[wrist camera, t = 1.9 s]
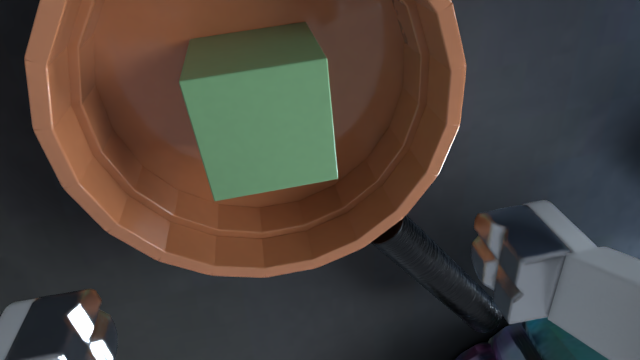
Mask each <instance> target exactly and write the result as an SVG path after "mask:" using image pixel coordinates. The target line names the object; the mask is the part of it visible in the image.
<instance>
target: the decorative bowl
mask: <svg viewBox="0 0 640 360" xmlns="http://www.w3.org/2000/svg"><path fill="white" fill-rule="evenodd" d="M455 360H609V359H607V358H606V357H604V356H603V355H601V354H600V353H598V352H597V351H595V350H594V349H592V348H591V347H589V346H587V345H586V344H584V343H583V342H581V341H580V340H578V339H577V338H575V337H574V336H572V335H571V334H569V333H568V332H566V331H565V330H563V329H562V328H560V327H559V326H557V325H556V324H554V323H553V322H551V321H549V320H548V317H546V318H541V319H535V320H530V321H525V322H519V323H516V324H513V325H510V326H507V327H505V328H503V329H502V330H501V331H499V332H498V333H497V334H495V335H494V336H493V337H491V338H490V339H489V341H488V342H481V343H479V344H477V345H475V346H473V347H471V348H470V349H468V350H466V351H465V352H463V353H461V354H460V355H459V356H458V357H457V358H456V359H455Z"/></svg>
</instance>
